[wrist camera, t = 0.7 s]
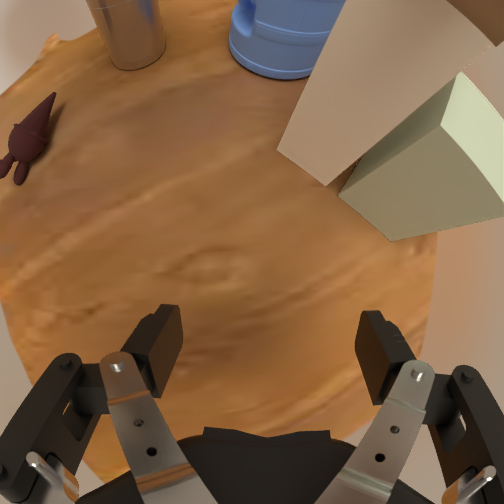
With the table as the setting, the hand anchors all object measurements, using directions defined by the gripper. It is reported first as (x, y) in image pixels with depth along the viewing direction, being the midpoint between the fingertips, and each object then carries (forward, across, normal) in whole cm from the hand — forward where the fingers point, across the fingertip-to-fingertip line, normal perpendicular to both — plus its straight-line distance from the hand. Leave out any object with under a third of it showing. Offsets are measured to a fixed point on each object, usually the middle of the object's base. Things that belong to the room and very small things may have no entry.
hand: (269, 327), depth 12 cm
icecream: (+24, +35, -11) cm, 44 cm away
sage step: (+29, -16, -2) cm, 33 cm away
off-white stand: (+30, -7, -9) cm, 32 cm away
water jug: (+37, -1, -25) cm, 45 cm away
